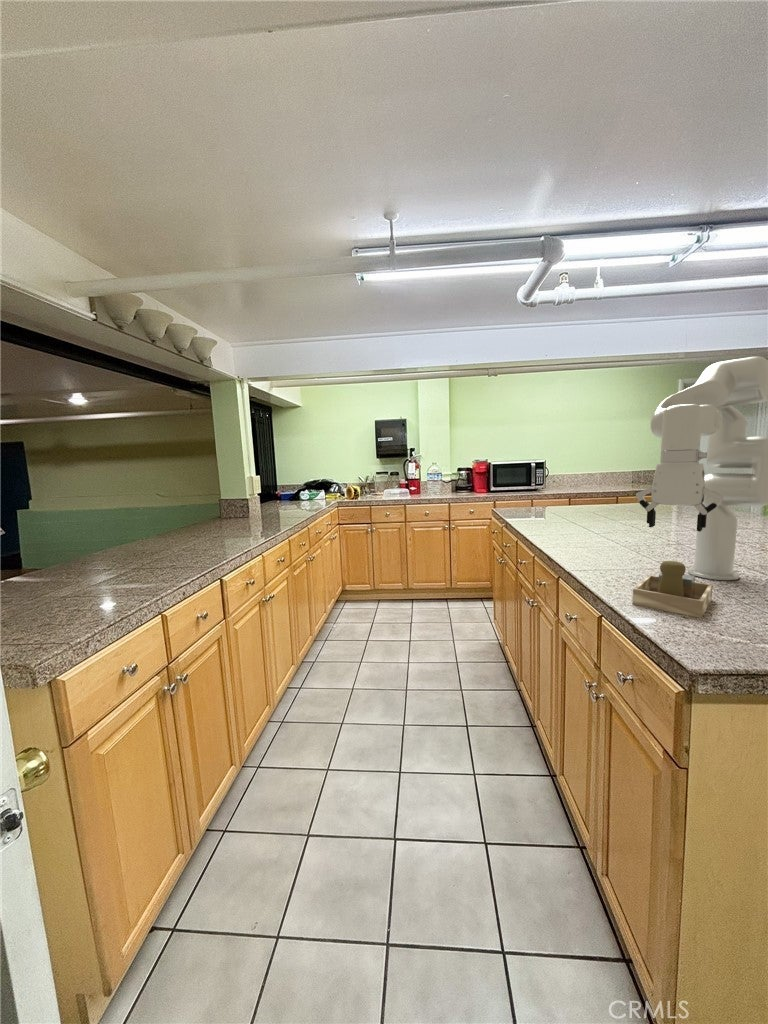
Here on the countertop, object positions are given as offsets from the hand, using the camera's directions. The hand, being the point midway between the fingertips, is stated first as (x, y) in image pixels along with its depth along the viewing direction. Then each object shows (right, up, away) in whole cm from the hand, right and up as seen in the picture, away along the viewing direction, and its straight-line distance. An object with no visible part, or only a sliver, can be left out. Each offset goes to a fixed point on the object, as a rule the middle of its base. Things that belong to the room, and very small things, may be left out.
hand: (674, 528), depth 100 cm
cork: (+1, -19, +3) cm, 20 cm away
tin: (+5, -18, +7) cm, 21 cm away
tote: (+3, -19, +5) cm, 20 cm away
